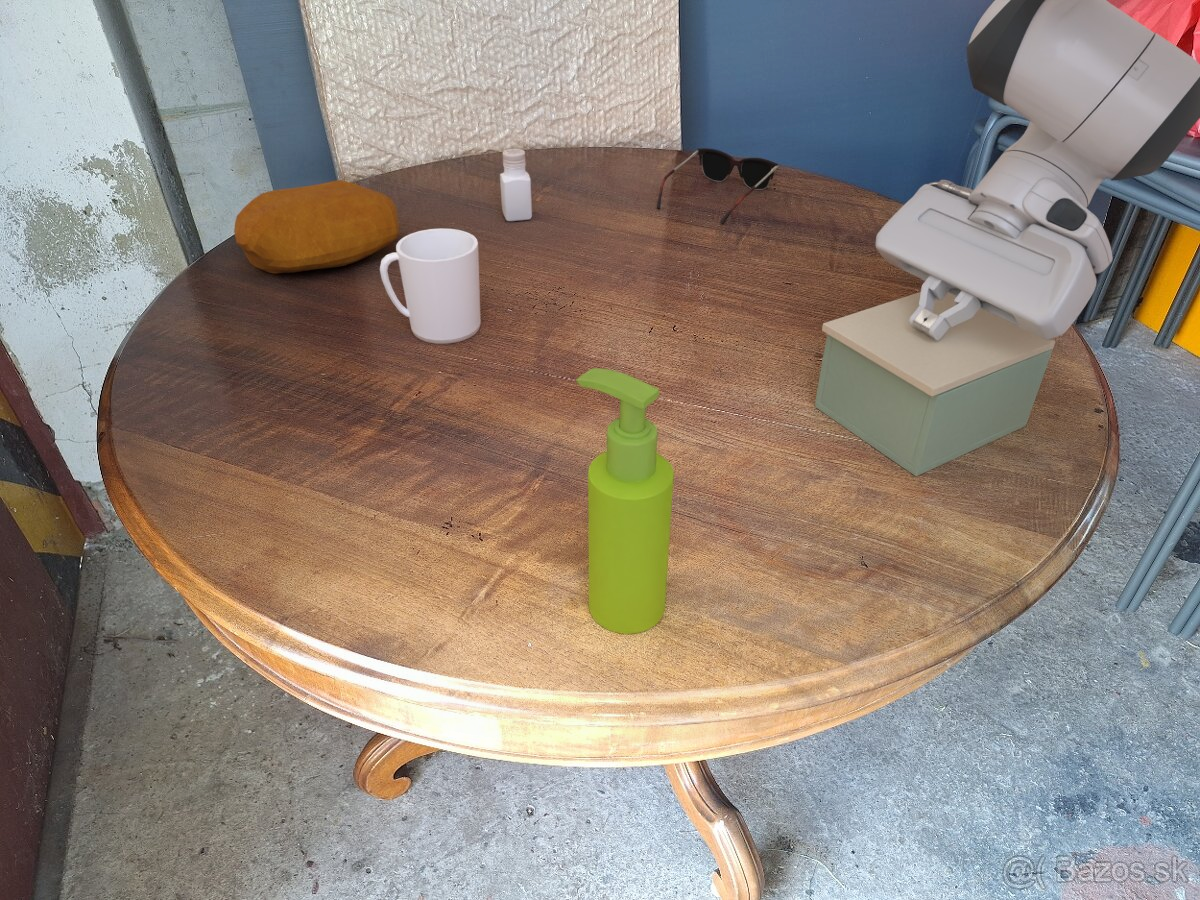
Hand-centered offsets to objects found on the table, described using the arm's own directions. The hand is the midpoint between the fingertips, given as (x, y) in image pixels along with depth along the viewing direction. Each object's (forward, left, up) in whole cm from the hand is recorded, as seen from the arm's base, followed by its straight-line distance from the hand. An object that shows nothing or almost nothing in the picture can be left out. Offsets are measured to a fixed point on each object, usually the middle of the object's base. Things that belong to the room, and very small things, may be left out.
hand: (922, 331), depth 83 cm
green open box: (-2, -2, -10) cm, 11 cm away
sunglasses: (+33, -51, -11) cm, 62 cm away
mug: (+52, 0, -11) cm, 53 cm away
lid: (-1, -2, -2) cm, 3 cm away
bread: (+75, -11, -11) cm, 77 cm away
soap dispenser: (+17, +33, -11) cm, 39 cm away
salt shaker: (+58, -34, -11) cm, 68 cm away
